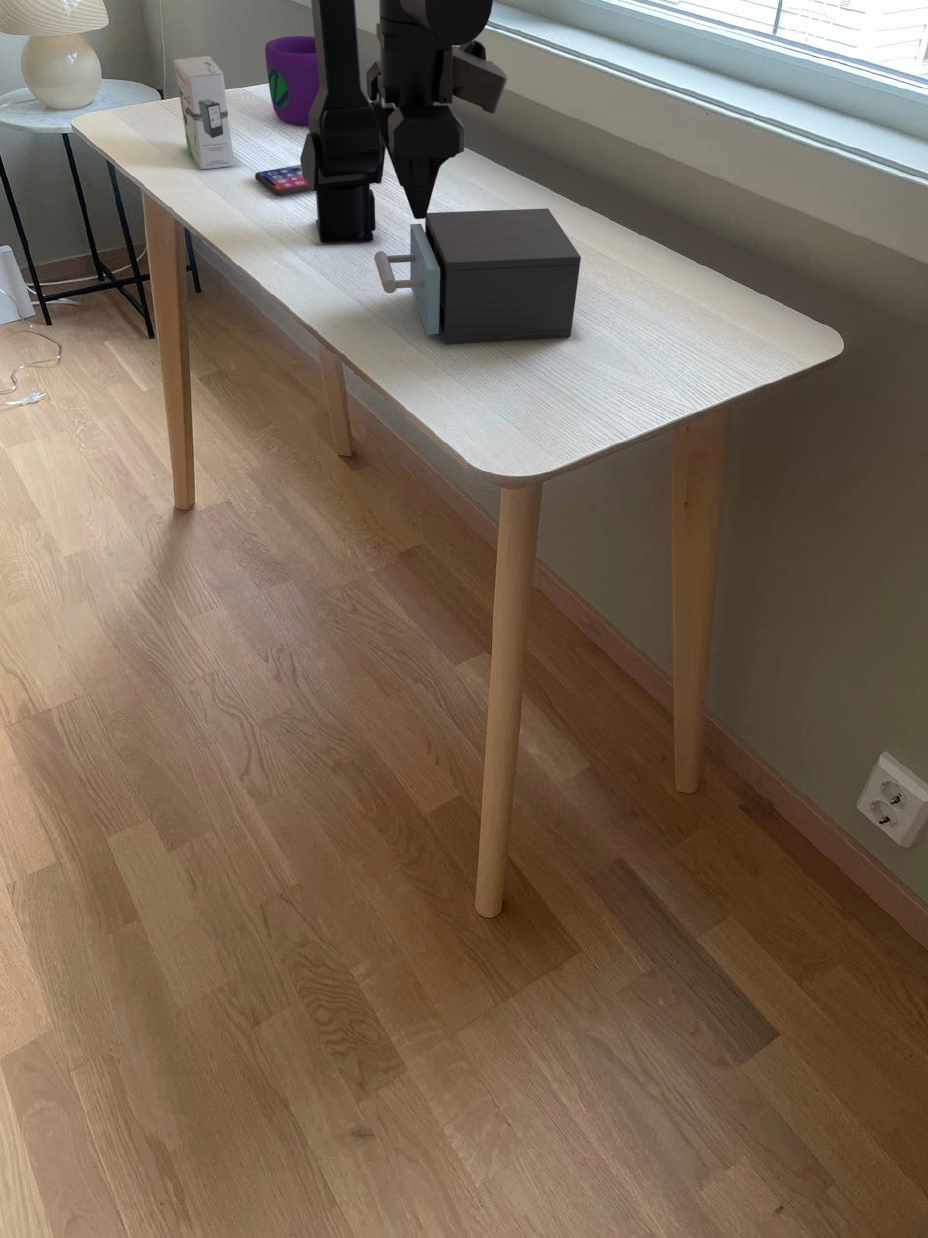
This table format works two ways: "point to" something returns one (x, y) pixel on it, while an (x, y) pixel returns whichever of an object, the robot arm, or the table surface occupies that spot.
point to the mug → (292, 77)
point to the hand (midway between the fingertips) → (412, 201)
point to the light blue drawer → (418, 276)
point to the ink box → (205, 112)
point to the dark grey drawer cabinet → (504, 275)
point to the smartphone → (284, 181)
